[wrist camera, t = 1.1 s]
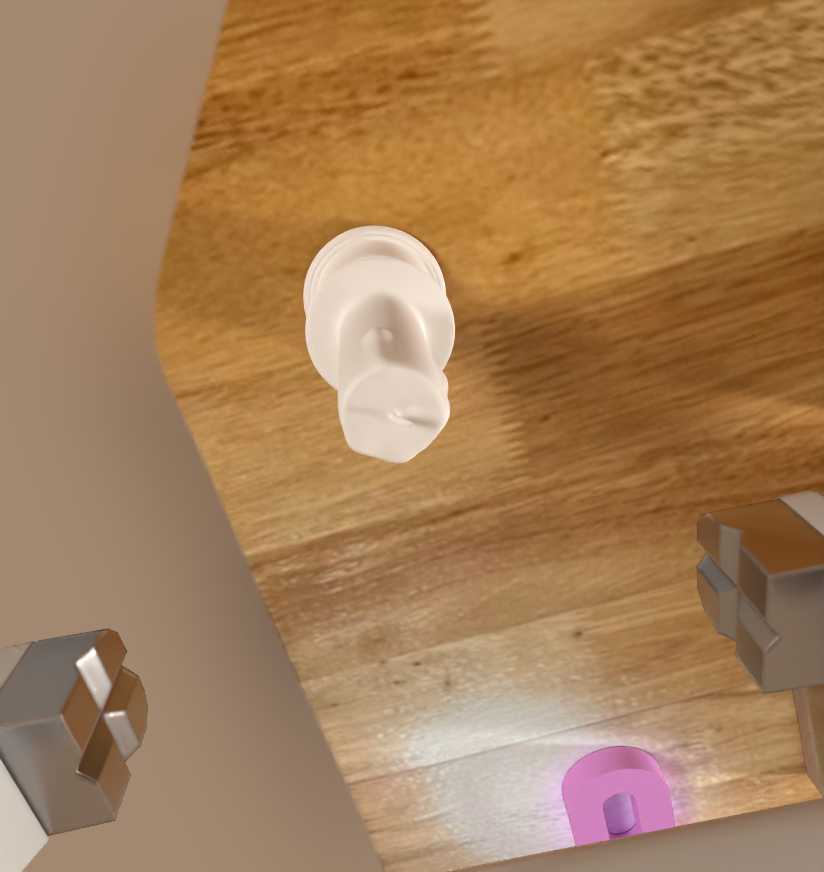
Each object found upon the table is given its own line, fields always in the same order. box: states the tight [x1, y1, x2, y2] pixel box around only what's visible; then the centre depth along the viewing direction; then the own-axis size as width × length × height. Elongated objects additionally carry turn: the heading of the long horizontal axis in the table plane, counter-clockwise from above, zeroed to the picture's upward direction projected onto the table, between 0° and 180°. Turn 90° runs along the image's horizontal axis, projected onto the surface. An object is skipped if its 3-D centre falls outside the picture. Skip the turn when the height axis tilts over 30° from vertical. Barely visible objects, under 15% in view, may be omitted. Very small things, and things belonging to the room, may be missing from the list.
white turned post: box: [303, 226, 455, 463], centre depth 20 cm, size 5×5×12 cm
